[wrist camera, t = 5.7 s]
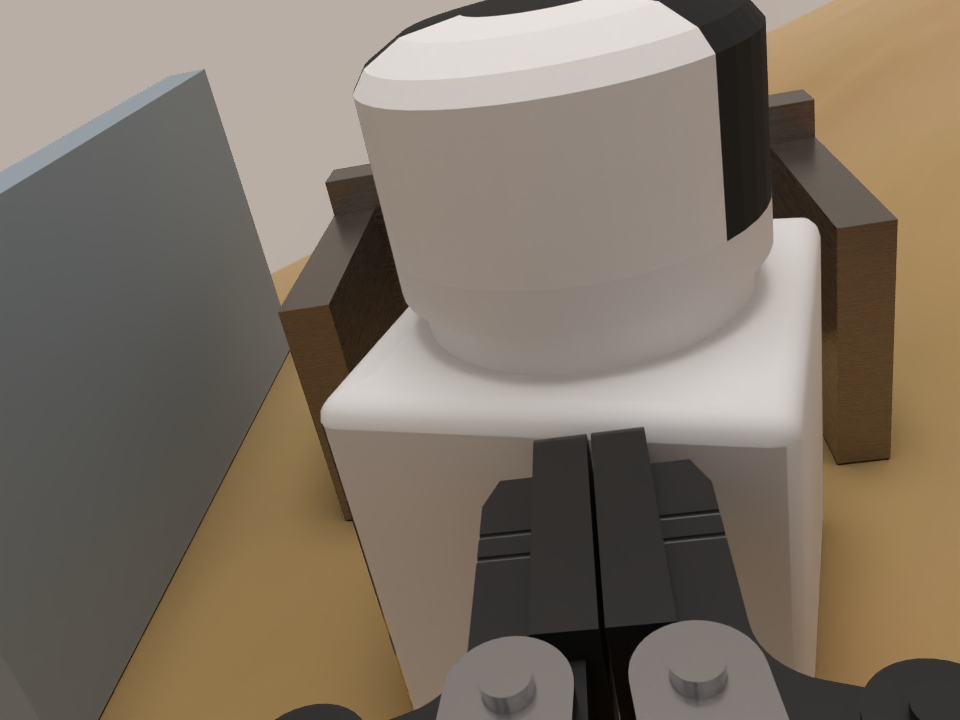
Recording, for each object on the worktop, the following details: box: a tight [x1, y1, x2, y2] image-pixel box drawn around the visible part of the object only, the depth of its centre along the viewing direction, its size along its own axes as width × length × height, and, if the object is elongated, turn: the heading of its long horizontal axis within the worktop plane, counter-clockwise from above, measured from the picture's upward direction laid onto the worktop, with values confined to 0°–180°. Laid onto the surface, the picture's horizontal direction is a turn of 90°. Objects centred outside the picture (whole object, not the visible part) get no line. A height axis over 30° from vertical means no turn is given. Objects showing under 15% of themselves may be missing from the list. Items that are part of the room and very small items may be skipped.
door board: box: [0, 69, 290, 720], centre depth 23 cm, size 1×18×10 cm, turn 177°
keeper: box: [278, 89, 898, 520], centre depth 24 cm, size 13×8×7 cm, turn 87°
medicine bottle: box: [321, 0, 823, 718], centre depth 16 cm, size 7×7×12 cm
